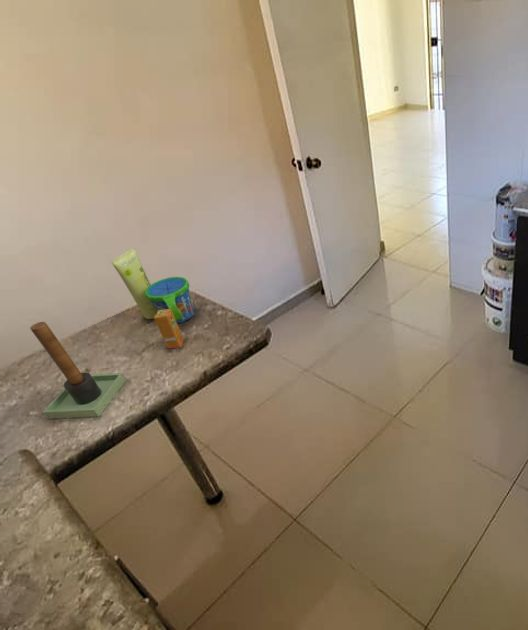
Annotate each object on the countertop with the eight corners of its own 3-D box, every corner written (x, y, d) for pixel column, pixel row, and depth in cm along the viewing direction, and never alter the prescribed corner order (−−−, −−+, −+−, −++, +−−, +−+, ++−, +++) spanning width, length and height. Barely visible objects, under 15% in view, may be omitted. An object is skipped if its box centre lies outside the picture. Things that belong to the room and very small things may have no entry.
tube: (163, 317, 122) (133, 256, 110) (143, 323, 120) (110, 261, 109) (163, 307, 126) (134, 247, 115) (144, 312, 124) (112, 252, 113)
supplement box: (182, 347, 111) (166, 315, 105) (168, 349, 110) (151, 317, 104) (185, 339, 113) (170, 308, 107) (171, 341, 113) (156, 309, 107)
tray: (47, 418, 93) (42, 412, 92) (80, 381, 102) (75, 375, 101) (99, 416, 93) (94, 409, 91) (126, 379, 102) (122, 373, 101)
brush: (70, 405, 95) (16, 334, 83) (84, 388, 99) (34, 318, 87) (93, 404, 95) (41, 332, 83) (106, 387, 99) (58, 317, 87)
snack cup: (161, 307, 126) (146, 277, 120) (200, 298, 129) (187, 268, 123) (158, 338, 114) (142, 306, 108) (201, 326, 117) (187, 295, 111)
